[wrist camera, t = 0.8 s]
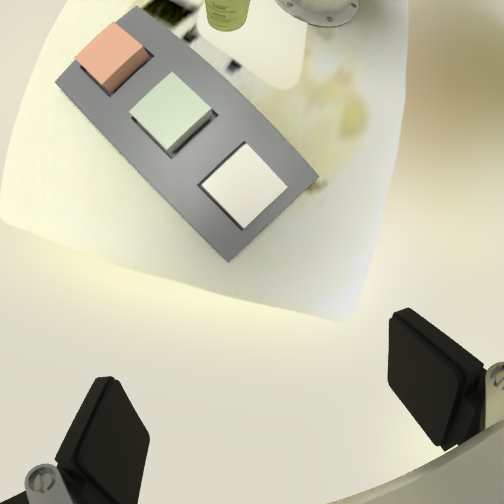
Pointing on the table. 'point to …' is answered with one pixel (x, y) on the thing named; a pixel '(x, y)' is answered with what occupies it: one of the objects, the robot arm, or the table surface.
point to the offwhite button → (244, 185)
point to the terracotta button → (112, 57)
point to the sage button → (172, 112)
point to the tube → (227, 13)
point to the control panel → (198, 144)
